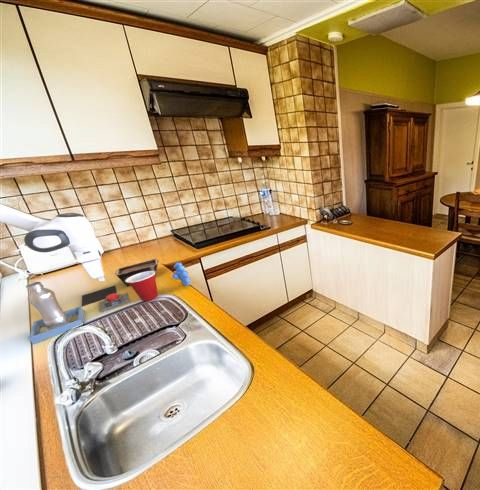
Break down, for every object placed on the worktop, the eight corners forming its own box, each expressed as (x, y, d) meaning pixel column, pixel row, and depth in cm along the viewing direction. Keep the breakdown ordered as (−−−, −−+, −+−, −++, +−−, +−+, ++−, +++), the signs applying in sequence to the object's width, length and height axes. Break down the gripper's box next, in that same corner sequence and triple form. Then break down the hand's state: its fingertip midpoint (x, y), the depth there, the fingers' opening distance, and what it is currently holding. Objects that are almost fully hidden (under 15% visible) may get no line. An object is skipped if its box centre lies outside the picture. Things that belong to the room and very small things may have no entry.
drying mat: (82, 306, 119) (81, 305, 118) (82, 296, 127) (81, 295, 126) (117, 295, 126) (116, 294, 126) (115, 286, 134) (114, 285, 134)
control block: (101, 313, 114) (97, 307, 112) (100, 304, 119) (97, 299, 118) (130, 302, 120) (128, 296, 119) (128, 295, 126) (126, 289, 125)
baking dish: (127, 280, 143) (115, 265, 138) (165, 266, 151) (155, 251, 146) (124, 293, 133) (111, 278, 128) (164, 277, 140) (154, 262, 135)
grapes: (172, 284, 133) (163, 263, 128) (187, 278, 138) (179, 258, 133) (180, 291, 126) (171, 269, 121) (195, 285, 131) (187, 264, 126)
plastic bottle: (54, 324, 108) (26, 282, 100) (75, 319, 110) (50, 278, 102) (44, 334, 102) (14, 291, 94) (67, 328, 105) (40, 285, 97)
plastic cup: (161, 288, 130) (152, 267, 125) (167, 296, 123) (157, 274, 118) (133, 298, 122) (122, 276, 118) (137, 307, 116) (126, 284, 111)
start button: (107, 302, 116) (106, 298, 116) (107, 298, 119) (105, 295, 118) (118, 298, 119) (116, 295, 118) (118, 295, 121) (116, 292, 120)
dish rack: (33, 344, 97) (28, 338, 96) (37, 327, 106) (33, 321, 105) (84, 325, 106) (80, 319, 105) (84, 311, 115) (81, 305, 114)
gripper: (77, 247, 114) (92, 275, 119) (76, 261, 100) (93, 291, 106) (97, 242, 118) (111, 270, 123) (99, 255, 104) (113, 285, 110)
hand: (102, 280), depth 115 cm, fingers closed
